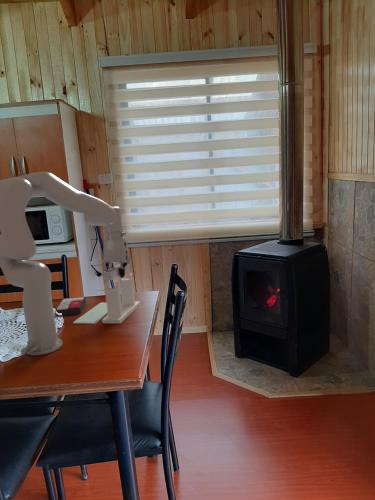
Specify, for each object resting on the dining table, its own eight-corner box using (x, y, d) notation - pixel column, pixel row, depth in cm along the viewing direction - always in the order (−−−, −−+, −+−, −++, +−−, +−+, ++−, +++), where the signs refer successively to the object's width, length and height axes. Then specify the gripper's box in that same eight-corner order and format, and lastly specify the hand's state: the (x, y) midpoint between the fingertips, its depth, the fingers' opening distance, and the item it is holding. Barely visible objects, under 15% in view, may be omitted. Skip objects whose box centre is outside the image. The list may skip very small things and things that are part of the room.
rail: (111, 280, 147) (110, 271, 147) (103, 280, 148) (103, 272, 148) (130, 269, 167) (129, 262, 166) (123, 269, 167) (122, 262, 167)
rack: (120, 323, 148) (116, 285, 146) (102, 323, 150) (97, 286, 147) (140, 304, 171) (137, 271, 169) (124, 304, 173) (121, 271, 170)
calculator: (54, 309, 163) (62, 298, 177) (56, 318, 164) (63, 306, 178) (79, 306, 164) (85, 295, 178) (81, 315, 165) (86, 303, 179)
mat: (94, 324, 150) (94, 322, 150) (73, 323, 152) (72, 322, 152) (119, 303, 175) (119, 302, 175) (101, 303, 177) (100, 302, 177)
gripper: (135, 233, 156) (138, 275, 159) (100, 235, 160) (104, 275, 163) (128, 236, 149) (132, 279, 152) (92, 237, 153) (96, 279, 156)
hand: (117, 276), depth 158 cm, fingers closed on rail, 3 cm apart
